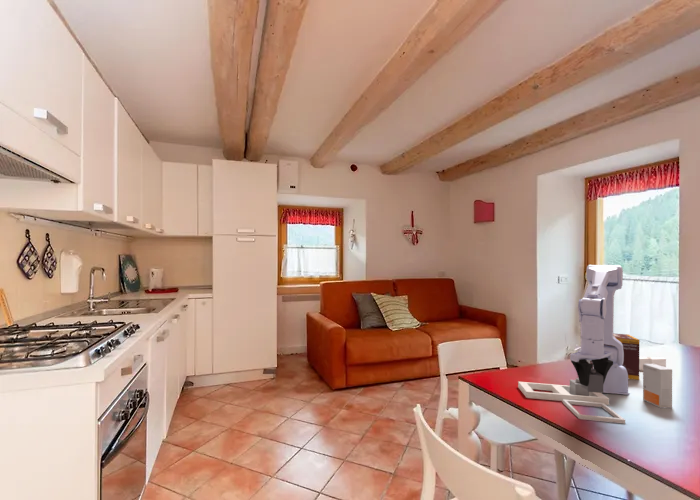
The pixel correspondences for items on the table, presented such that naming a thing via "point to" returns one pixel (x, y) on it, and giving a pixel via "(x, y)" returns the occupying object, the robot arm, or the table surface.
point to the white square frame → (597, 418)
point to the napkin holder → (651, 361)
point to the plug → (594, 382)
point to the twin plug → (577, 388)
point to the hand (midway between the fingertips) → (591, 384)
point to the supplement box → (628, 354)
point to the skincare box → (657, 385)
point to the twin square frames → (558, 393)
